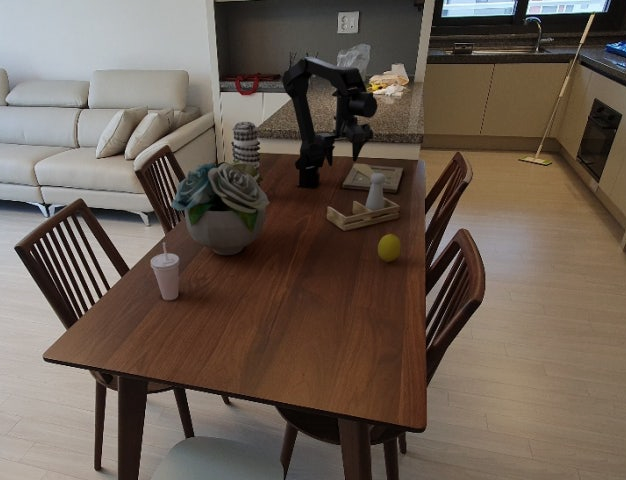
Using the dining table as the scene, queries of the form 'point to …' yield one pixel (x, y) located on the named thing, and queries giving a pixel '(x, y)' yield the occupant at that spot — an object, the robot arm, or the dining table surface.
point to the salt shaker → (376, 193)
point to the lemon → (389, 247)
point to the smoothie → (166, 273)
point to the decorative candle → (246, 145)
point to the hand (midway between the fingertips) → (342, 163)
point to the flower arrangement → (222, 205)
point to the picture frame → (362, 175)
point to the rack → (363, 215)
